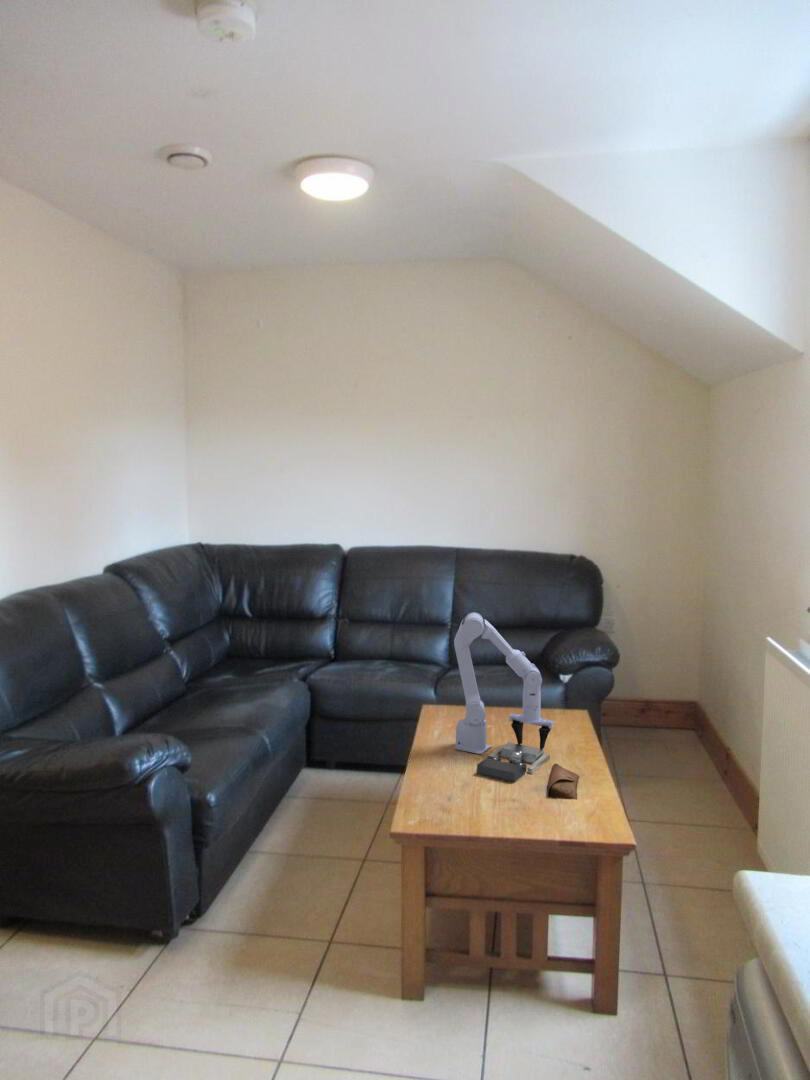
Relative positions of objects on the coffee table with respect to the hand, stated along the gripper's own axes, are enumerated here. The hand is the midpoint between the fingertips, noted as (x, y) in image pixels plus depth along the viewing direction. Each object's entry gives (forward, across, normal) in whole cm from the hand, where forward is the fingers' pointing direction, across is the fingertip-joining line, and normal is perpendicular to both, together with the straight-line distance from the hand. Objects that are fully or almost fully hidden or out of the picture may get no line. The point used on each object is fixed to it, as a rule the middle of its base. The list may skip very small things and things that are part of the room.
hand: (531, 745), depth 246 cm
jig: (+1, 0, -11) cm, 11 cm away
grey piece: (+1, 0, -9) cm, 9 cm away
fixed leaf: (+1, 0, -22) cm, 22 cm away
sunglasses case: (+2, +19, -21) cm, 29 cm away
